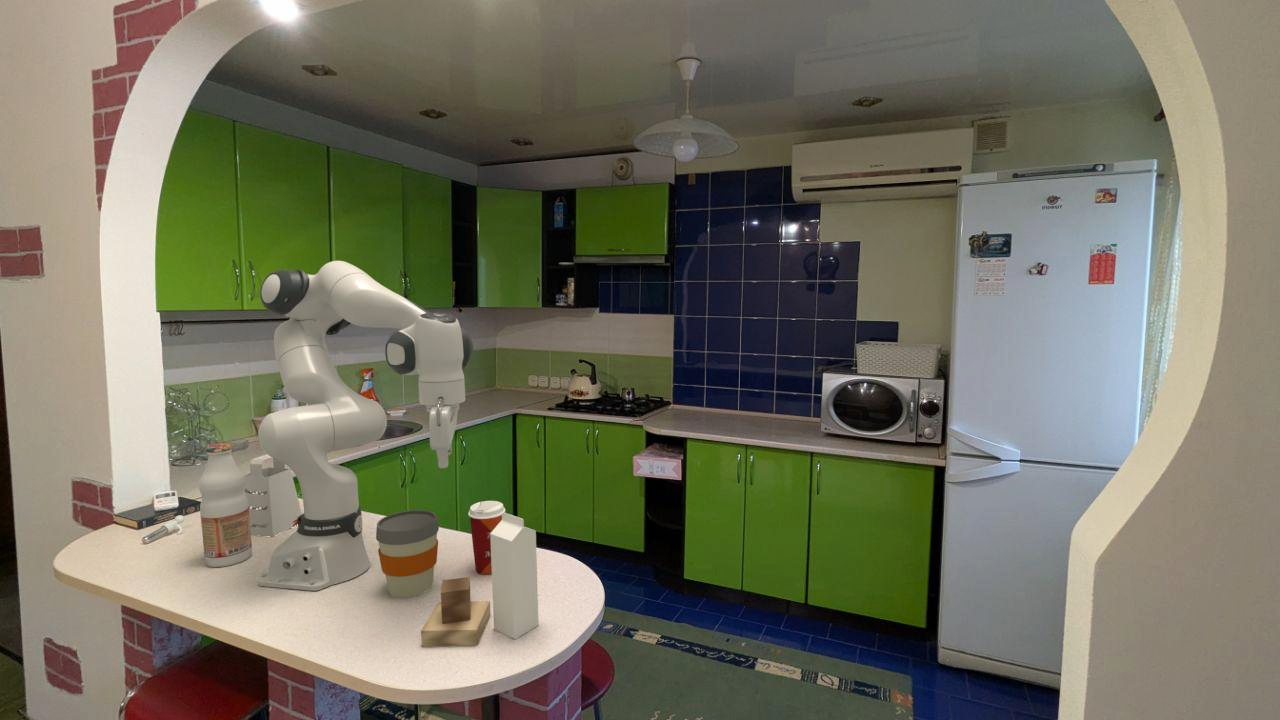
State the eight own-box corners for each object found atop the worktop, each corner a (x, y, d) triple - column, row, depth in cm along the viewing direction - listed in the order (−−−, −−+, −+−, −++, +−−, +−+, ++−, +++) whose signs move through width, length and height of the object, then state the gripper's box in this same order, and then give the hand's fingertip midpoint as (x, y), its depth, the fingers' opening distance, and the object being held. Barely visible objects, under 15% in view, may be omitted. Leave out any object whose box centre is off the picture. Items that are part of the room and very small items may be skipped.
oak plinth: (421, 646, 106) (420, 630, 106) (439, 616, 116) (438, 601, 116) (477, 645, 106) (476, 629, 106) (490, 615, 116) (489, 601, 116)
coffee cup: (498, 578, 131) (495, 513, 130) (463, 575, 133) (461, 511, 131) (513, 562, 139) (511, 500, 138) (481, 559, 141) (478, 498, 139)
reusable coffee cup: (417, 605, 120) (413, 534, 119) (366, 597, 124) (361, 528, 122) (453, 577, 132) (450, 512, 131) (405, 570, 136) (401, 507, 134)
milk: (517, 615, 116) (514, 507, 114) (539, 625, 113) (536, 513, 110) (493, 629, 112) (489, 516, 109) (514, 640, 108) (511, 523, 106)
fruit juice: (196, 569, 137) (184, 451, 134) (218, 552, 146) (208, 441, 143) (240, 566, 138) (230, 449, 135) (259, 549, 148) (250, 439, 144)
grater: (239, 534, 157) (233, 460, 155) (272, 519, 167) (266, 450, 165) (273, 537, 155) (267, 463, 153) (304, 522, 165) (298, 452, 163)
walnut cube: (442, 624, 108) (440, 592, 107) (443, 610, 113) (442, 580, 112) (470, 620, 109) (469, 589, 109) (470, 606, 114) (469, 576, 113)
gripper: (455, 401, 110) (458, 474, 112) (461, 385, 130) (463, 447, 131) (419, 403, 109) (423, 476, 110) (430, 386, 128) (433, 449, 130)
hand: (445, 460), depth 121 cm, fingers open, 8 cm apart
